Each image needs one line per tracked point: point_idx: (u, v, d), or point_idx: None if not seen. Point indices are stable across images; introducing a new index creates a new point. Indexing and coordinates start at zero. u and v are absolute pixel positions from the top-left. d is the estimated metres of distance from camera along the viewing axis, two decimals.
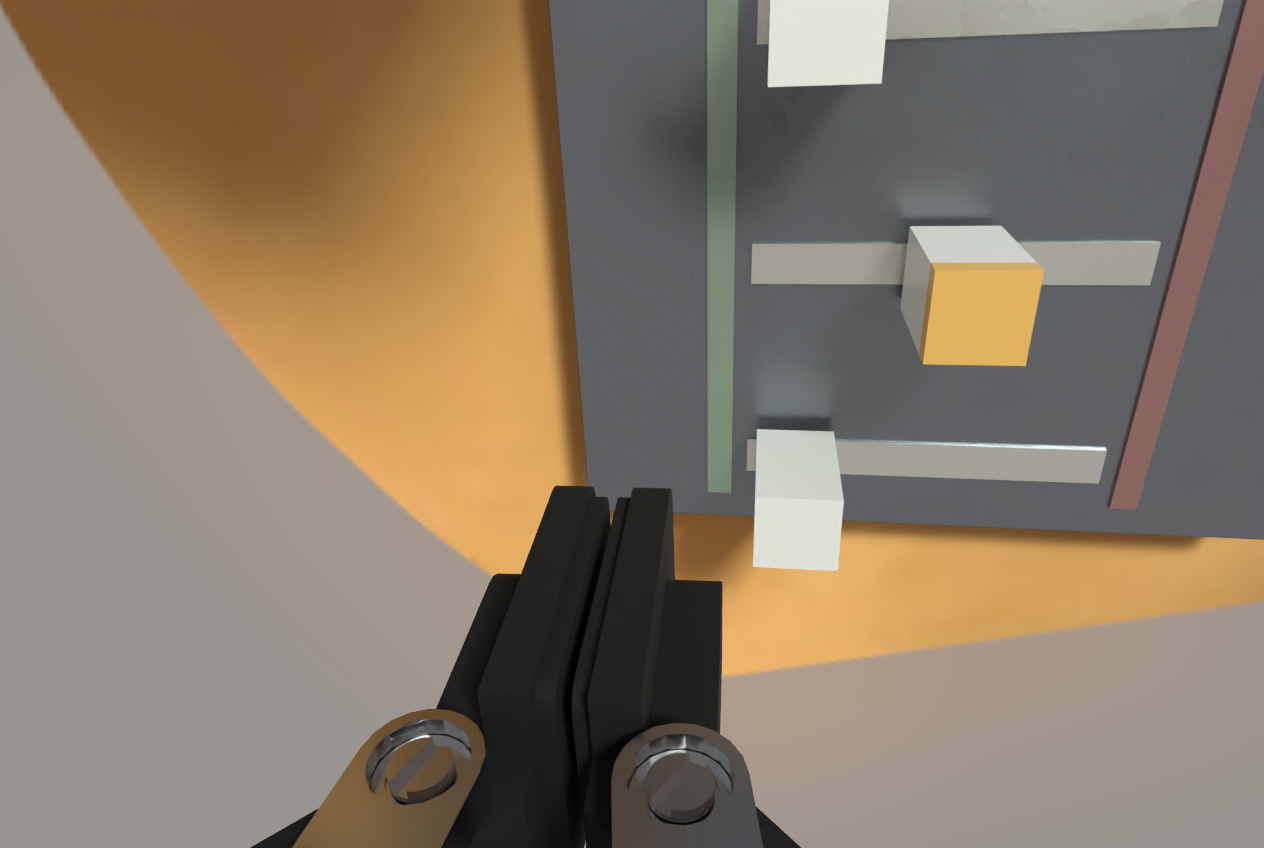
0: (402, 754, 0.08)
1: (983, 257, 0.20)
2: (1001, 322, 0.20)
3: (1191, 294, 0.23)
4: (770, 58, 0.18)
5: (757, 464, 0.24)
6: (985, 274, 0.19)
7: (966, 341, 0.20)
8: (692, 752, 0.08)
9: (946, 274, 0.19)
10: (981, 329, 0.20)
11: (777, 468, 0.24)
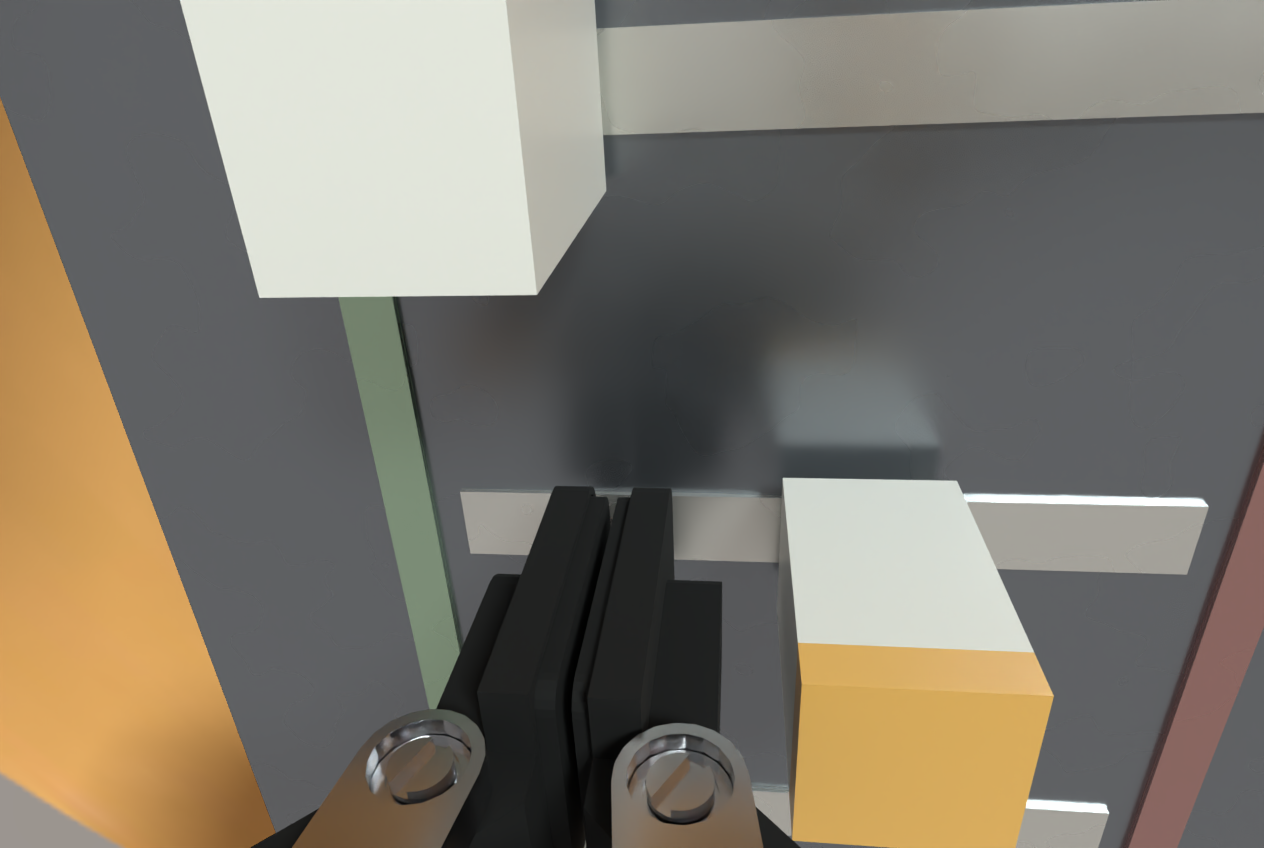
0: (403, 754, 0.08)
1: (914, 621, 0.09)
2: (957, 782, 0.09)
3: (1263, 589, 0.12)
4: (243, 231, 0.07)
5: None
6: (917, 694, 0.08)
7: (882, 809, 0.09)
8: (691, 752, 0.08)
9: (827, 694, 0.08)
10: (913, 791, 0.09)
11: None
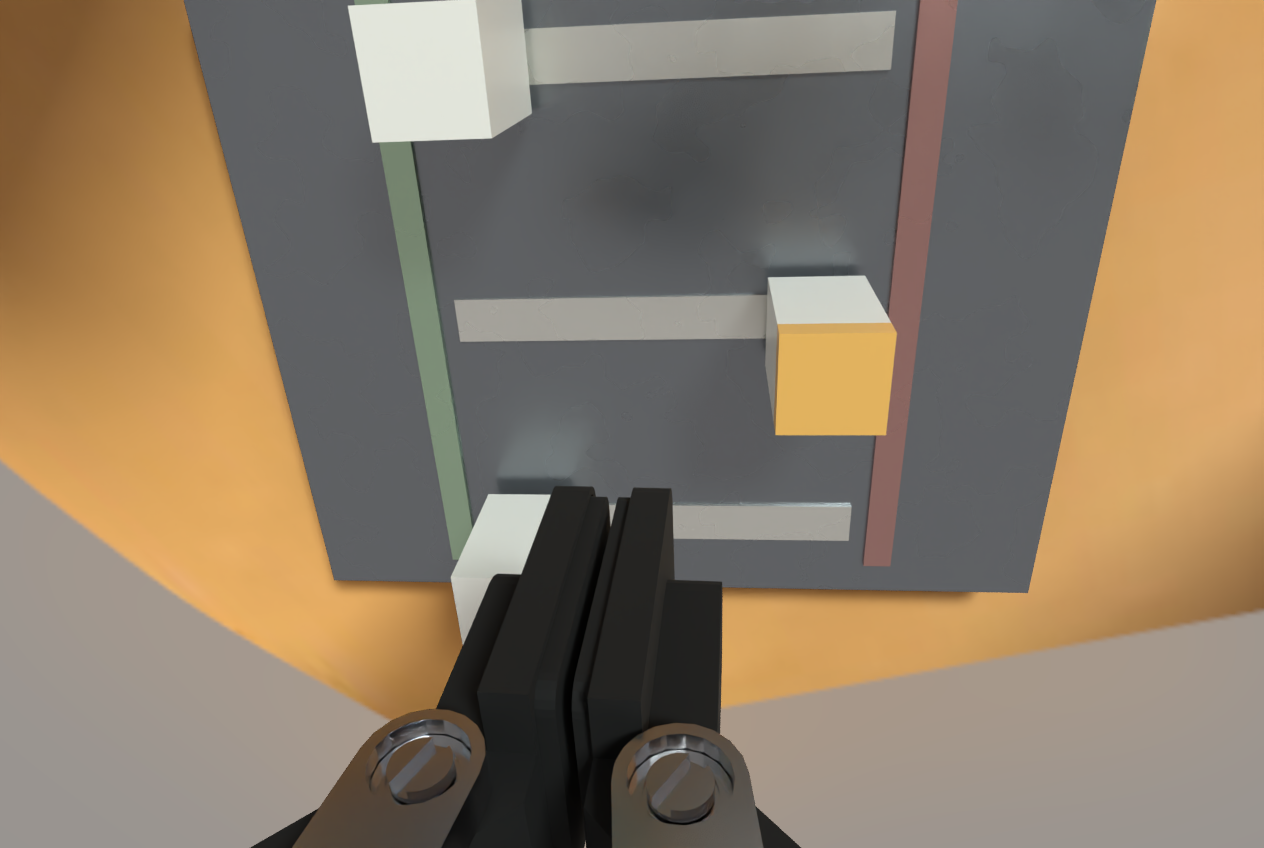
0: (403, 754, 0.08)
1: (835, 316, 0.18)
2: (855, 389, 0.18)
3: (910, 345, 0.22)
4: (368, 111, 0.16)
5: (470, 537, 0.23)
6: (834, 337, 0.17)
7: (820, 410, 0.18)
8: (692, 752, 0.08)
9: (791, 338, 0.17)
10: (835, 396, 0.18)
11: (489, 541, 0.22)
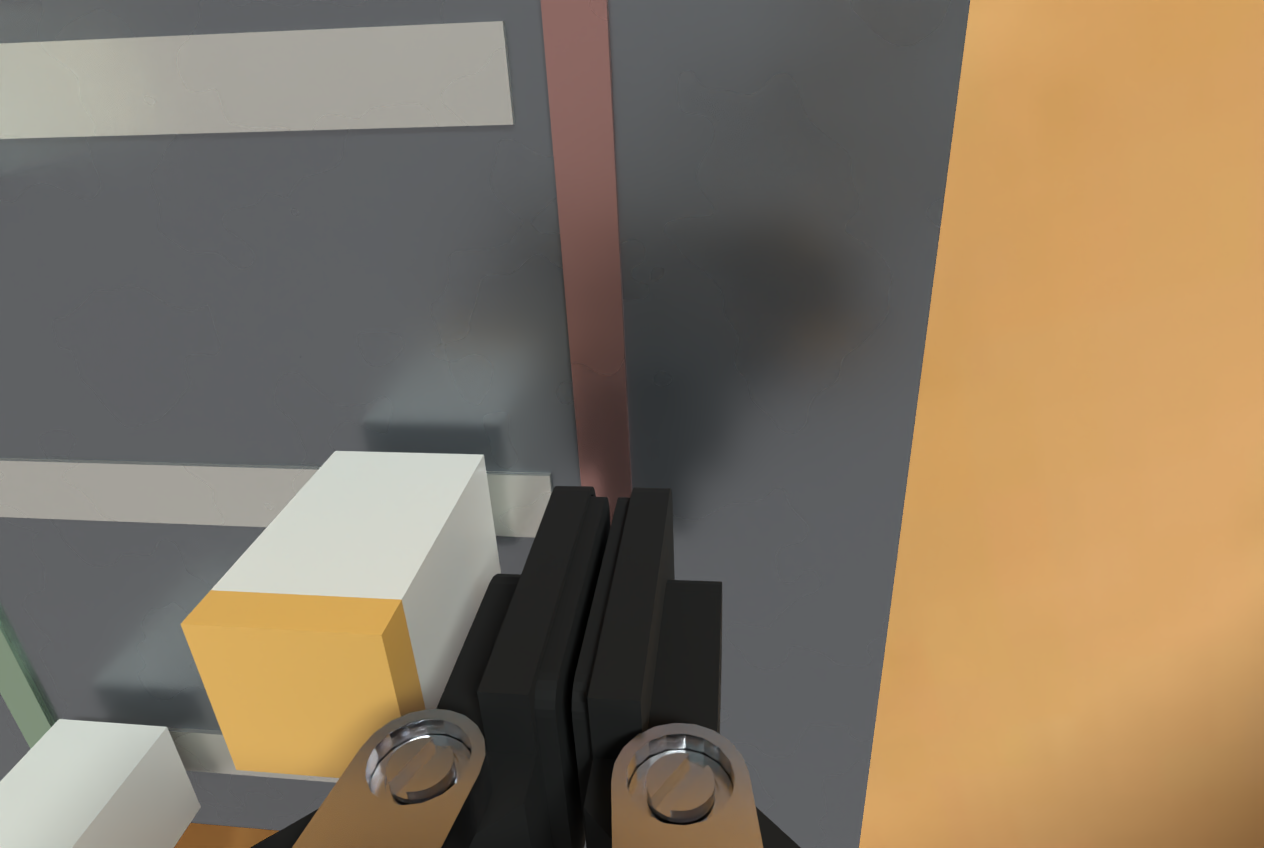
0: (402, 754, 0.08)
1: (326, 573, 0.10)
2: (342, 714, 0.10)
3: None
4: None
5: None
6: (280, 633, 0.09)
7: (294, 740, 0.10)
8: (692, 752, 0.08)
9: (202, 633, 0.09)
10: (311, 723, 0.10)
11: None
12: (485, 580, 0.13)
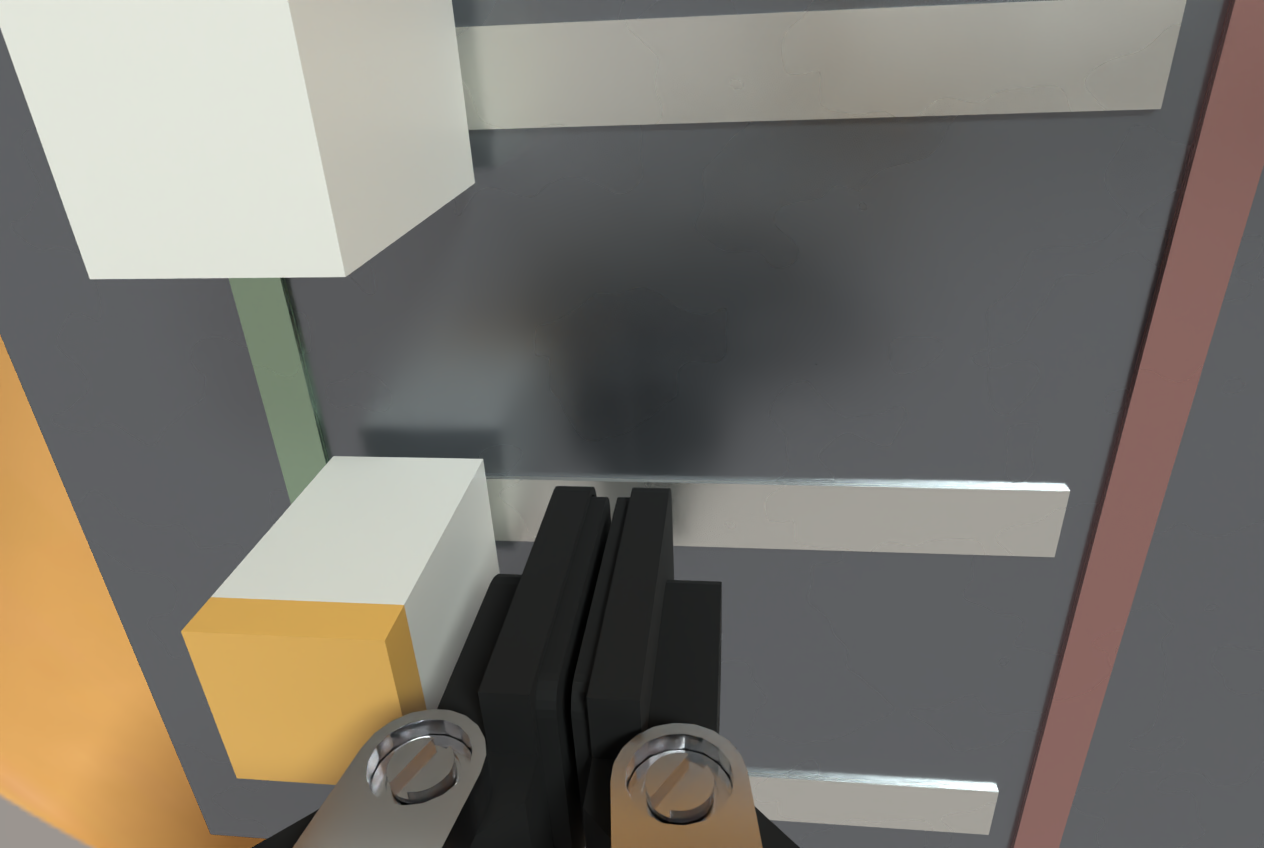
0: (403, 754, 0.08)
1: (327, 579, 0.10)
2: (344, 721, 0.10)
3: (1128, 571, 0.13)
4: (68, 215, 0.07)
5: None
6: (282, 640, 0.09)
7: (296, 747, 0.10)
8: (691, 752, 0.08)
9: (203, 640, 0.09)
10: (313, 730, 0.10)
11: None
12: (484, 584, 0.13)
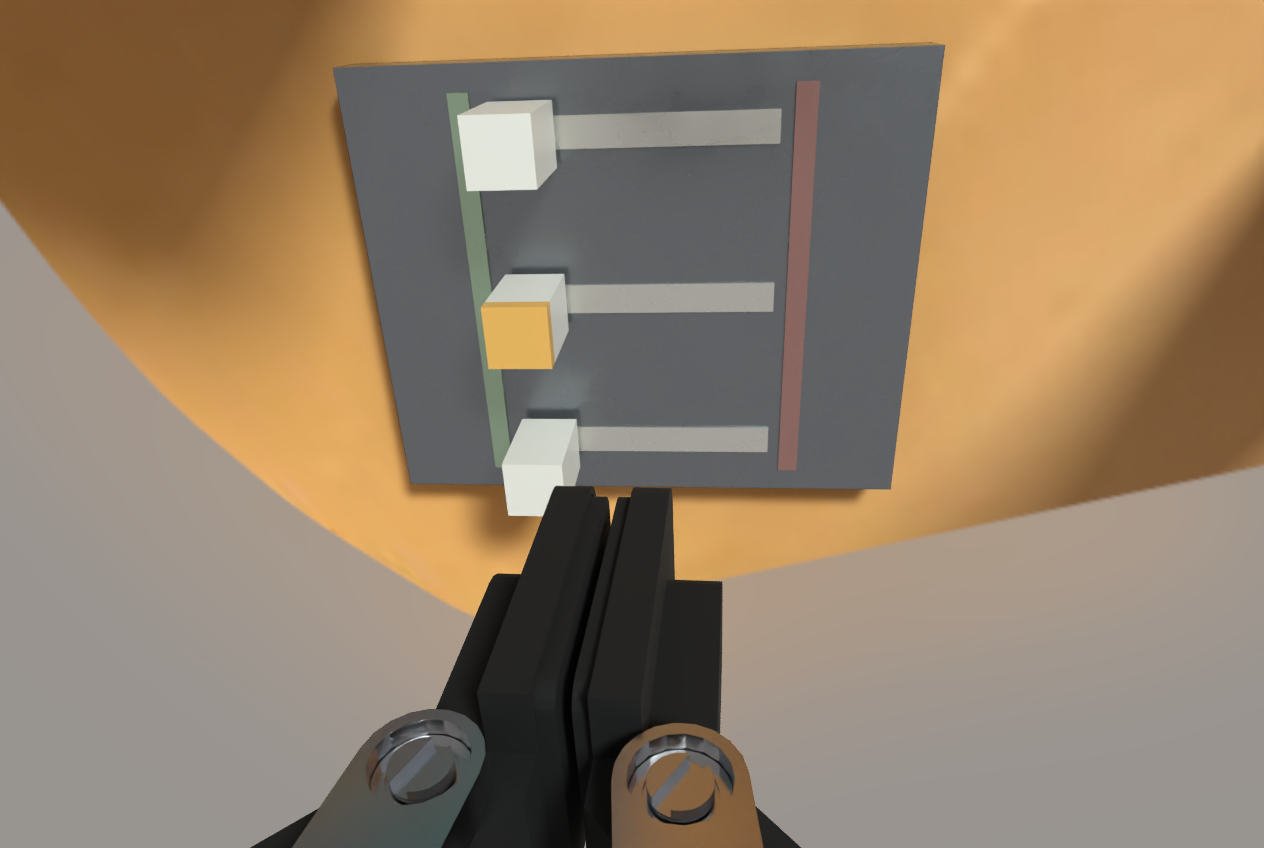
0: (402, 754, 0.08)
1: (521, 298, 0.30)
2: (529, 340, 0.30)
3: (802, 317, 0.33)
4: (465, 173, 0.27)
5: (512, 442, 0.34)
6: (512, 309, 0.29)
7: (511, 353, 0.30)
8: (692, 752, 0.08)
9: (487, 310, 0.29)
10: (518, 345, 0.30)
11: (525, 445, 0.34)
12: (564, 323, 0.33)
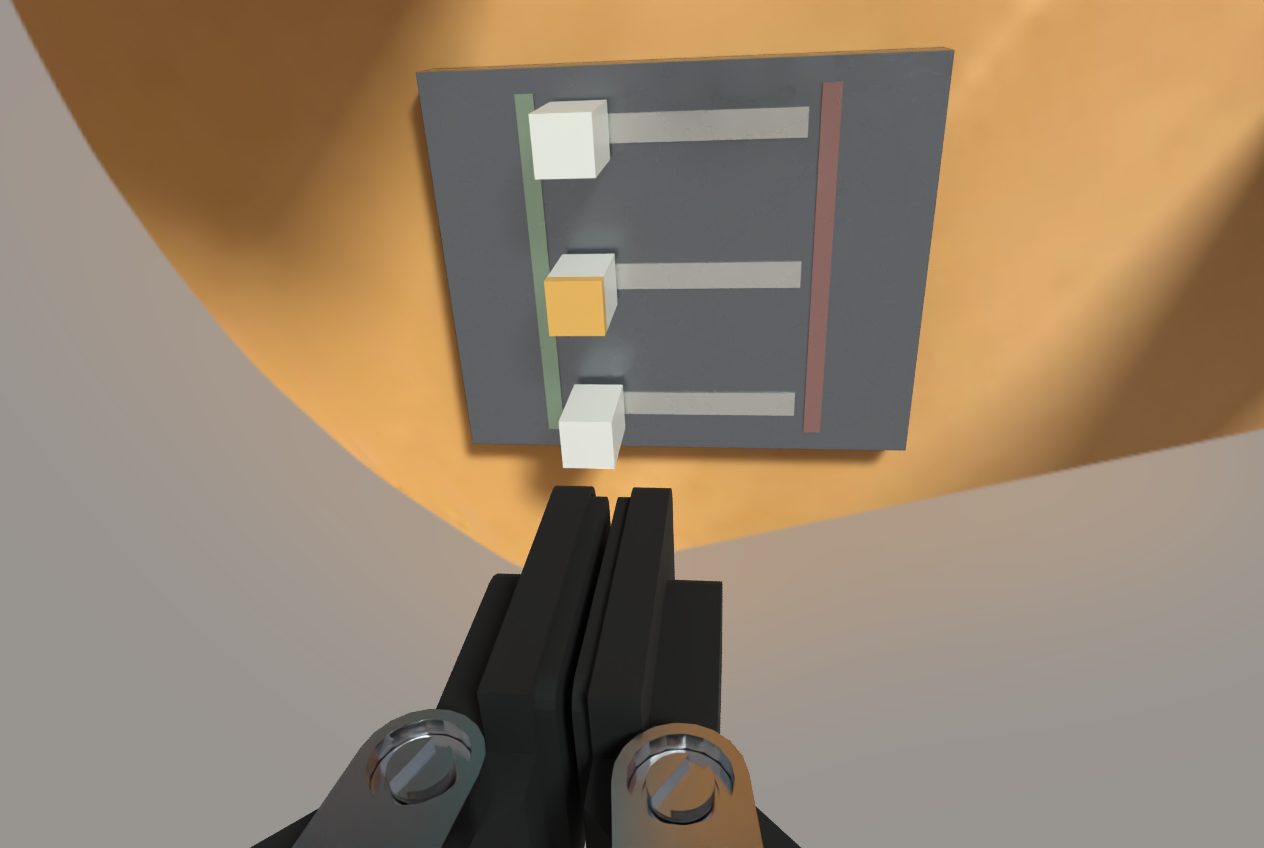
0: (403, 754, 0.08)
1: (578, 273, 0.35)
2: (586, 310, 0.34)
3: (826, 293, 0.37)
4: (534, 164, 0.32)
5: (566, 404, 0.38)
6: (571, 283, 0.34)
7: (569, 322, 0.35)
8: (692, 752, 0.08)
9: (550, 283, 0.34)
10: (576, 315, 0.34)
11: (578, 406, 0.38)
12: (614, 297, 0.37)
